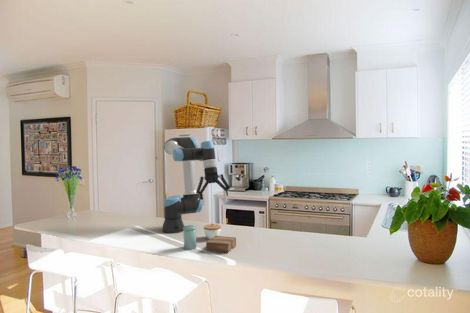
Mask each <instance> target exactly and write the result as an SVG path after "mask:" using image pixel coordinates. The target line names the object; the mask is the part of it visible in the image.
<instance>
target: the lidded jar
mask: <svg viewBox="0 0 470 313" xmlns="http://www.w3.org/2000/svg"><path fill="white" fill-rule="evenodd" d="M203 231H204V235H205V237H206V238H207V240H210V239H212V238H213V237H214V236H221V231H222V225H221V224H218V223H210V224H205V225H204V226H203Z"/></svg>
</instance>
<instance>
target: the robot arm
mask: <svg viewBox="0 0 470 313" xmlns="http://www.w3.org/2000/svg"><path fill="white" fill-rule="evenodd" d="M163 150H164V152H165V153H166V154H169V155H172V159H173V161H174V162H182V170H183V171H182V172H183V186H184V193H183V194H182V197H181V195H172V196H168V197H166V198H164V199H163V209H164V210H163V213H164V220H163V223H162V228H161V229H162V230H161V231H162V233H165V232H166V233H165V234H174V233H175V232H177V233H182V232H184V231H183V227H184V226H185V224H184V221H183V219H182V215H188V214H189V215H190V214H196V213H200V212H201V211H202V209H203V207H204V206H206V199H205V193H204V191H205V190H206V189H207V186H208V185H209V184H217V185H218V186H219V187H220V188H221V189H223V199H224V203H227V202H228V196H229V194H228V193H229V192H228V191H229V190H230V189H231V186H230V185H229V184H228V182H227V180H226V179H225V178H224V174H223V173H222V174H219V173H218V167H217V159H216V152H215V146H214V142H213V141H212V140H204V141H201V143H200V147H199V143H198V140H197V138H195V137H193V136H191V137H190V136H187V137H186V136H182V137H172V138H168V139H167V140H166V141H165V142H164V144H163ZM196 161H198V162H199V161H200V162H202V163H203V171H204V176H200V177H199V183H198V185H197V174H196V164H195V163H196ZM219 179H220V180H221V181H220V180H219ZM204 181H205V183H204V185H203V182H204ZM202 185H203V186H202Z"/></svg>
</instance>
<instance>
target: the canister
mask: <svg viewBox="0 0 470 313" xmlns="http://www.w3.org/2000/svg"><path fill="white" fill-rule="evenodd" d="M196 229H197V225H184V227H183V230H184V231H183V245H184V246H183V249H184V250H186V249H187V250H186V251H191V250H192V249H193V250H196V249H197V230H196ZM193 250H192V251H193Z"/></svg>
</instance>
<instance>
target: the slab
mask: <svg viewBox="0 0 470 313" xmlns="http://www.w3.org/2000/svg"><path fill="white" fill-rule="evenodd" d="M235 247H237V236H236V237H233V236H222V235H219V236H214V237H213V238H212V239H208V240H207V241H206V249H205V250H206V252H212V251H216V252H215V253H222V252H229V251H230V250H231V249H232V250H234V249H235ZM232 250H231V251H232ZM231 251H230V252H231ZM230 252H229V253H230Z"/></svg>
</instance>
